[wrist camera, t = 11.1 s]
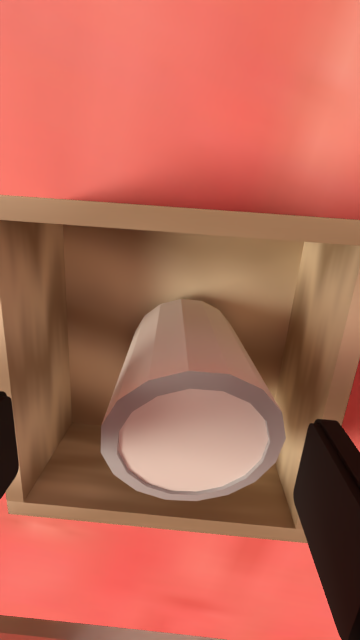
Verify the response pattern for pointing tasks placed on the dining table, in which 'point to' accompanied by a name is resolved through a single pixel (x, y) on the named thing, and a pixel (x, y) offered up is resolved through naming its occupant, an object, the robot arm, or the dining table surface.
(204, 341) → the shot glass
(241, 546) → the dining table surface
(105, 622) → the dining table surface
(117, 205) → the box
